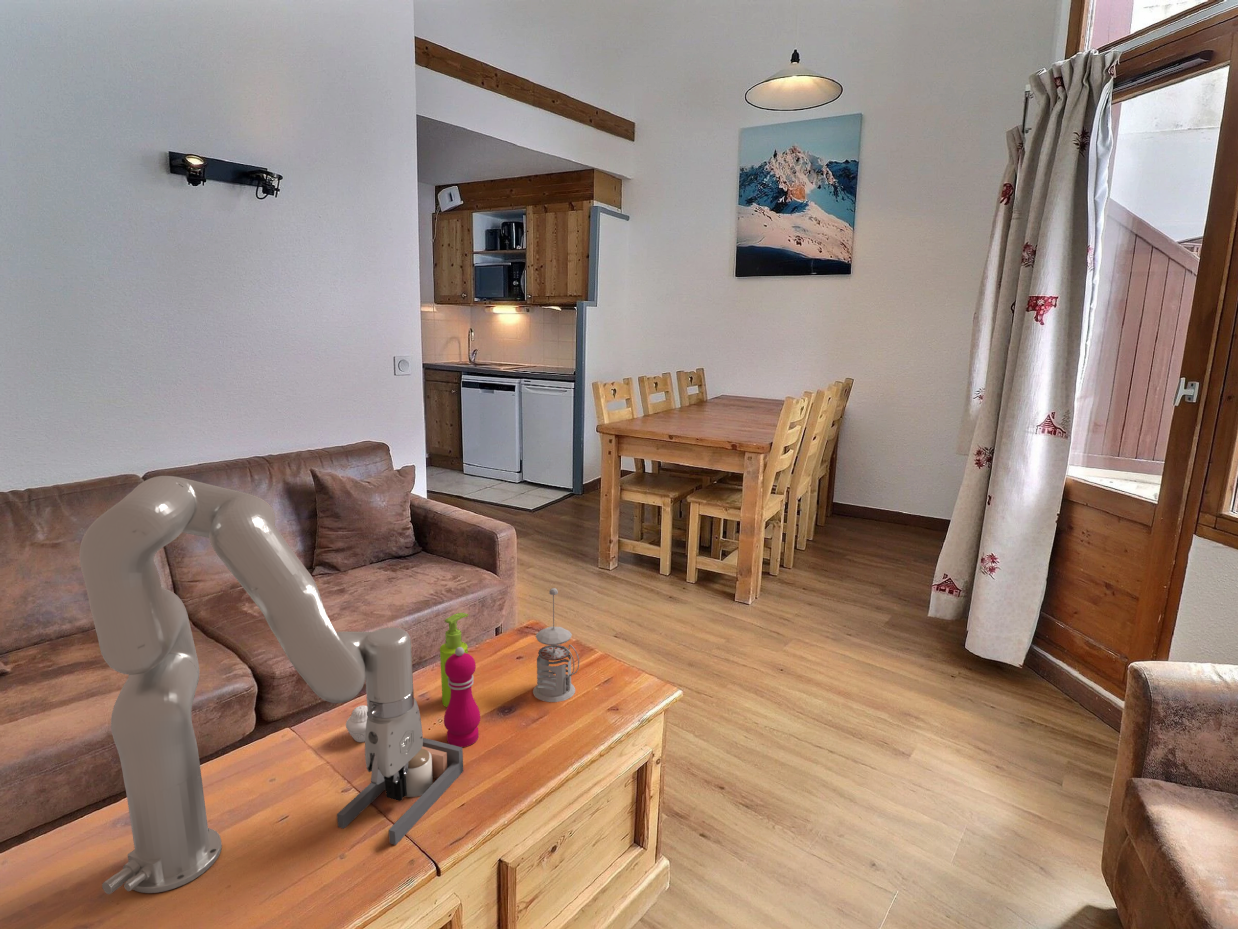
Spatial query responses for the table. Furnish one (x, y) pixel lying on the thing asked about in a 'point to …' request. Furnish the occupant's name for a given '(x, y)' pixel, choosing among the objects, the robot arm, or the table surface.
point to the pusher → (437, 761)
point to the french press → (549, 684)
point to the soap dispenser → (450, 652)
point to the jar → (419, 774)
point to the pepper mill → (461, 700)
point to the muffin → (358, 723)
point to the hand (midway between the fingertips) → (396, 796)
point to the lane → (420, 805)
